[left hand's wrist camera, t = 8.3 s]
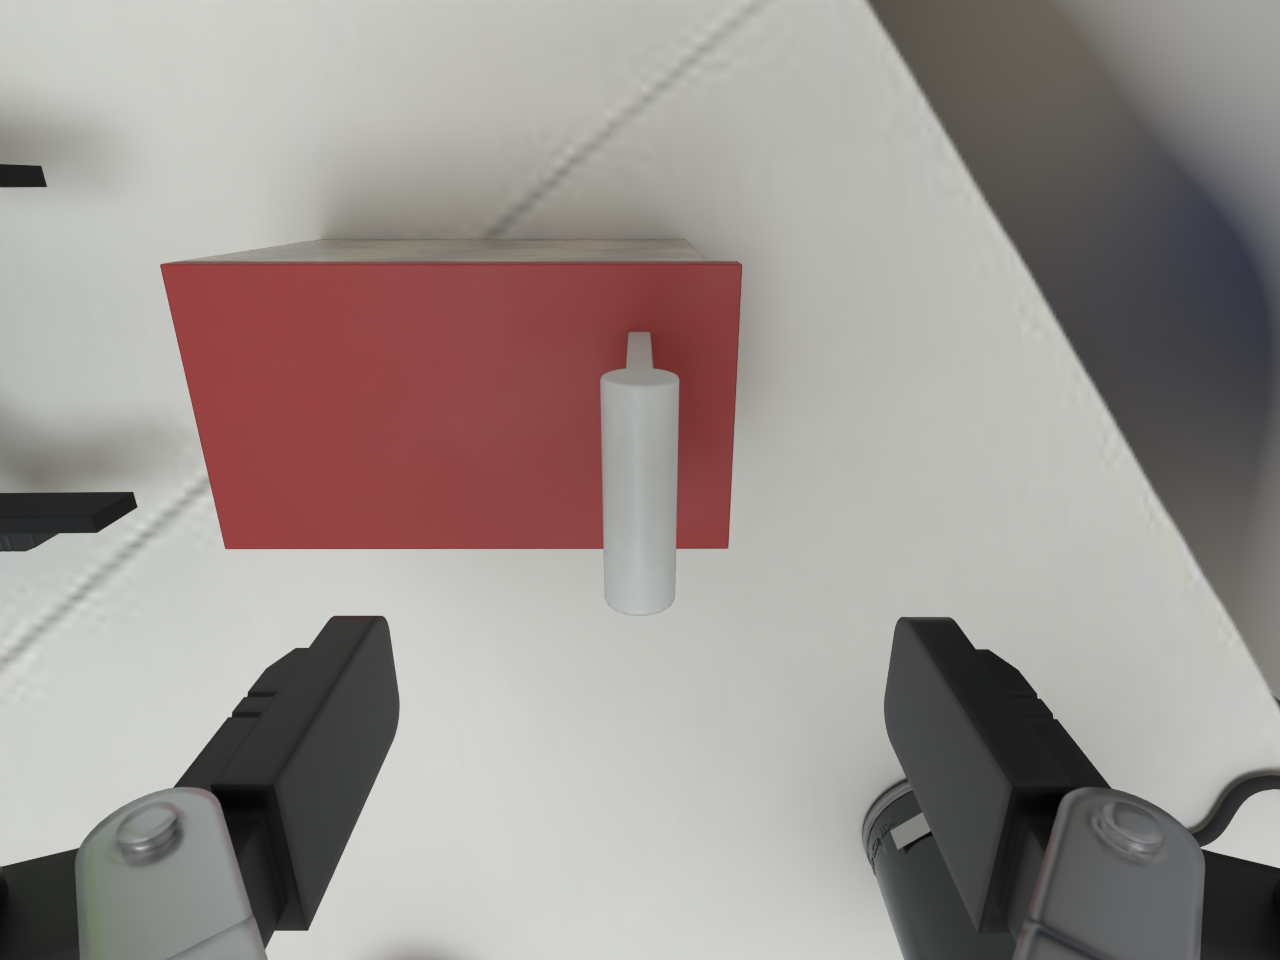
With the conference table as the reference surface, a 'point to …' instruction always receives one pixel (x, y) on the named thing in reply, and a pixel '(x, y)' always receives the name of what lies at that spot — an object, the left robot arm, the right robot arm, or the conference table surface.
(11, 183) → the right robot arm
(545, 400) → the lid
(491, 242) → the chest
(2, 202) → the conference table surface
